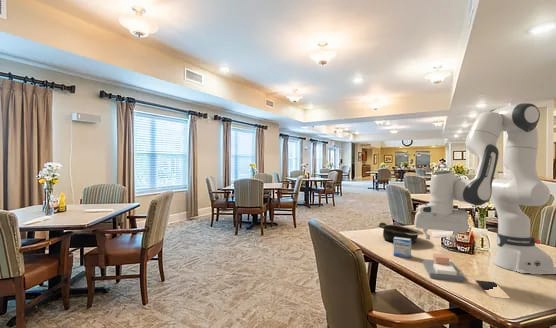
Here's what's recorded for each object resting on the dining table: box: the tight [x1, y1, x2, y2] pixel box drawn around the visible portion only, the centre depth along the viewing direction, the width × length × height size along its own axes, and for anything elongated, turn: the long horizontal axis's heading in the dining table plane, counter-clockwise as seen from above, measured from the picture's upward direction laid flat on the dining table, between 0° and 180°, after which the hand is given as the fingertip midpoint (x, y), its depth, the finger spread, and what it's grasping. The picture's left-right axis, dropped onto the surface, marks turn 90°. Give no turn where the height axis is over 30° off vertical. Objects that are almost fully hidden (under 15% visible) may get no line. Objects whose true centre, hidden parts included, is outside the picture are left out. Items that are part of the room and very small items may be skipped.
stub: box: [432, 253, 450, 265], centre depth 123 cm, size 5×5×4 cm
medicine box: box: [392, 237, 412, 259], centre depth 142 cm, size 8×4×9 cm, turn 62°
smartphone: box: [475, 279, 498, 291], centre depth 105 cm, size 7×1×14 cm
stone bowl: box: [377, 222, 425, 244], centre depth 169 cm, size 25×25×9 cm
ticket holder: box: [422, 258, 465, 282], centre depth 121 cm, size 12×17×4 cm
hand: (440, 240), depth 123 cm, fingers open, 8 cm apart
